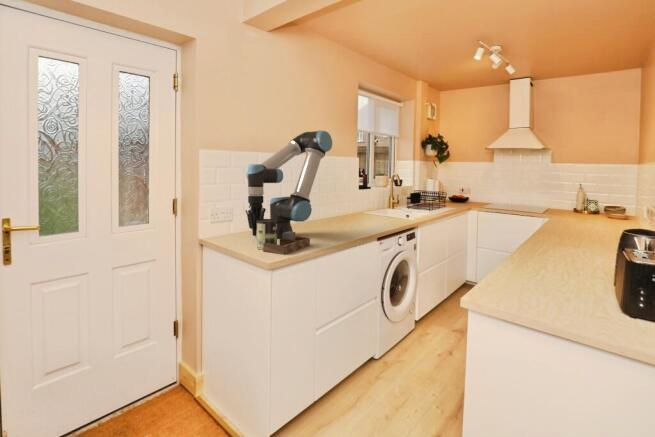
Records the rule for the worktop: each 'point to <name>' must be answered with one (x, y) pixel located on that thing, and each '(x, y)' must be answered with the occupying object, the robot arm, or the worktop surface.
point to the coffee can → (266, 232)
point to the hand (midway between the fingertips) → (256, 241)
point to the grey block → (288, 235)
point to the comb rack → (287, 245)
